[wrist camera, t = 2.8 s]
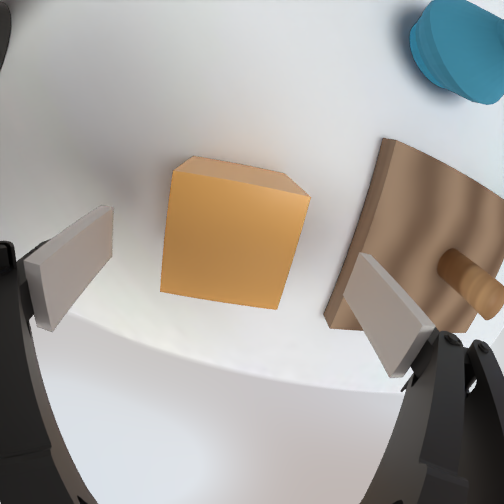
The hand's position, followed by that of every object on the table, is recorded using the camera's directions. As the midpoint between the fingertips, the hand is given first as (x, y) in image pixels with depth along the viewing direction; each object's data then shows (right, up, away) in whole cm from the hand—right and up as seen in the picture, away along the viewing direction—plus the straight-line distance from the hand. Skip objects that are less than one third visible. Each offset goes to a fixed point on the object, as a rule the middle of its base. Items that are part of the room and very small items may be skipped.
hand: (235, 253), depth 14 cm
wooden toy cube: (-1, +3, +6) cm, 7 cm away
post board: (+19, 0, +9) cm, 21 cm away
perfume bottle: (+17, +17, +1) cm, 24 cm away
